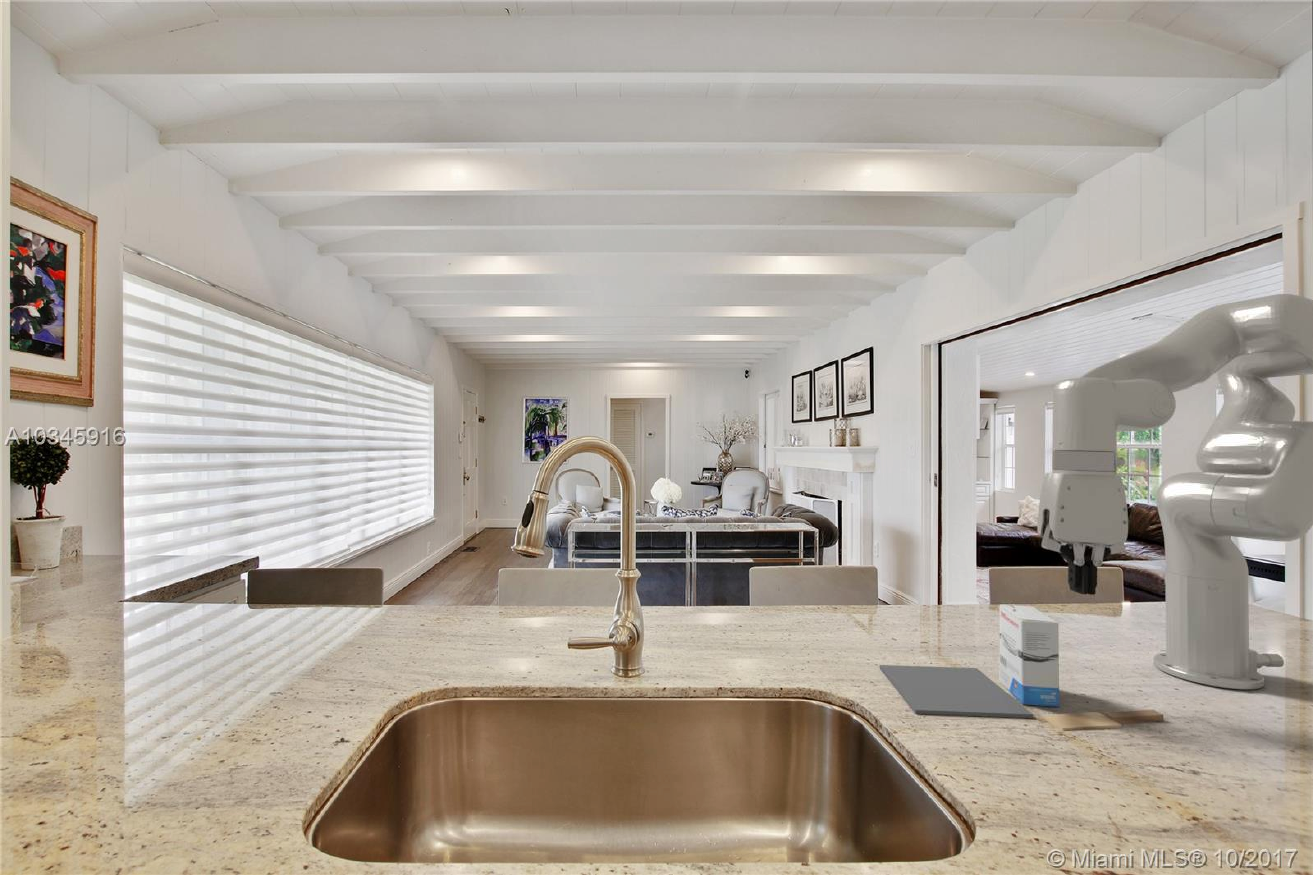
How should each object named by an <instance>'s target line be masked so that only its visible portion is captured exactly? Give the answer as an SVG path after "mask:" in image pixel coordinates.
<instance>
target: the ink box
mask: <svg viewBox="0 0 1313 875" xmlns="http://www.w3.org/2000/svg"><path fill="white" fill-rule="evenodd" d="M998 614H999V632H998V633H999V666H998V667H999V668H998V671H999V673H998V678H999V680H998V681H999V682H1000V683H1001V684H1002V685H1003V686H1004V688H1006V690H1007V691H1009V692H1010V693H1011V694H1012V695H1013V697H1014V698H1015V699H1016V700H1017V701H1018V702H1019V703H1020V704H1021V705H1028V706H1031V705H1032V706H1040V707H1041V706H1043V707H1055V708H1059V707H1060V668H1059V667H1060V665H1059V664H1060V662H1059V656H1060V653H1059V650H1060V649H1059V647H1060V646H1059V642H1060V641H1059V639H1060V638H1059V622H1058V621H1056V620H1054V619H1052V618H1051V617H1050V616H1048V615H1046V614H1045V613H1044V612H1042V611H1040V610H1038V609H1037V608H1035V607H1034V606H1028V605H1017V604H999V612H998Z"/></svg>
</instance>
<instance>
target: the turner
mask: <svg viewBox="0 0 1313 875" xmlns="http://www.w3.org/2000/svg"><path fill="white" fill-rule="evenodd" d="M1041 718H1042V719H1044V720H1045V721H1047V722H1048V723H1050V724H1052V725H1053V726H1055V727H1057V729H1060V730H1061V731H1074V730H1075V731H1078V730H1101V729H1103V730H1104V729H1121V728H1122V724H1133V723H1150V722H1152V723H1153V722H1163V721H1164V714H1163V713H1160V712H1159V711H1156V710H1154V709H1148V710H1147V709H1146V710H1145V709H1144V710H1143V709H1142V710H1129V711H1128V710H1127V711H1126V710H1125V711H1111V712H1110V711H1107V712H1103V713H1100V712H1099V711H1088V712H1071V713H1069V712H1068V713H1056V714H1055V713H1054V714H1041Z"/></svg>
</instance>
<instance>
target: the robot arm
mask: <svg viewBox="0 0 1313 875" xmlns="http://www.w3.org/2000/svg"><path fill="white" fill-rule="evenodd" d="M1215 374H1216V376H1217V379H1218V383H1219V385H1220V387H1221V390H1222V395H1223V403H1222V407H1221V408H1220V411H1219V412H1218V414H1217V416H1216V417H1215V419H1214V420H1213V421H1212V424H1211V426H1210V427H1209V429H1208V430H1207V432H1206V434H1205V435H1204V437H1203V439H1202V441H1201V442H1200V443H1199V447H1198V448H1197V452H1196V455H1195V456H1196V457H1195V458H1196V466H1197V467H1198V469H1199V470H1201V471H1197V472H1196V471H1193V472H1192V471H1190V472H1183V473H1177V474H1174V475H1172V476H1169V477H1167V478H1166V479H1164V480H1163V481H1162V482H1161V484H1159V486H1158V488H1157V492H1156V500H1155V501H1156V506H1157V512H1158V516H1159V520H1160V523H1161V527H1162V533H1163V538H1164V539H1163V541H1164V557H1165V565H1164V566H1165V570H1164V571H1165V572H1164V574H1165V652H1162V653H1158V654H1155V655H1154V656H1153V664H1154V666H1155V667H1156V668H1157V669H1159V670H1160V671H1162V672H1164V673H1167V674H1169V675H1171V676H1174V677H1177V678H1180V679H1182V680H1186V681H1190V682H1193V683H1197V684H1202V685H1207V686H1210V687H1218V688H1224V689H1233V690H1257V689H1261V688H1263V687H1264V686H1265V677H1264V676H1263V675H1262V674H1261V673H1260V672H1258V669H1261V668H1262V667H1266V668H1282V667H1283V666H1284V665H1285V661H1284V659H1283V657H1282V656H1281V655H1280V654H1277V653H1258V651H1256V650H1254V649H1251V648H1250V607H1249V606H1250V605H1249V604H1250V601H1249V600H1250V597H1249V595H1250V593H1249V591H1250V590H1249V566H1248V562H1247V560H1246V558H1245V556H1244V554H1243V552H1242V551H1241V549H1239V547H1238V546H1237V544H1236V543H1235V542H1234V541H1233V539H1232V538H1231V537H1234V538H1235V537H1236V538H1244V539H1251V540H1261V541H1267V542H1269V541H1271V542H1292V541H1297V540H1299V539H1301V538H1302V537H1304V536H1305V535H1306V534H1307V533H1308V532H1309V531H1310V530H1311V528H1312V527H1313V421H1311V420H1294V418H1295V415H1296V409H1295V405H1294V404H1293V402H1292V400H1291V399H1290V398H1289V397H1288V396H1287V395H1286V394H1285V393H1284V392H1282V390H1280V389H1278V388H1277V387H1276V386H1274V385H1272V383H1271V381H1269V379H1270V378H1279V377H1280V378H1282V377H1292V376H1301V375H1302V376H1305V375H1313V299H1311V298H1308V297H1304V296H1301V295H1298V294H1292V293H1291V294H1290V293H1277V294H1272V295H1265V296H1262V297H1261V296H1260V297H1254V298H1251V299H1245V300H1240V301H1239V300H1238V301H1234V302H1233V301H1232V302H1228V303H1223V304H1219V305H1214V306H1211V307H1209V308H1206V309H1203V310H1202V311H1200V312H1198V313H1197V314H1196V315H1194V316H1193V317H1192V318H1190V319H1189V320H1187V321H1185V322H1184V323H1183V324H1182V325H1180V326H1179V327H1177V328H1176V329H1174V330H1173V331H1172V332H1170V333H1169V334H1168V335H1166V336H1165V337H1163V338H1162V339H1160V340H1159V341H1158V342H1155V343H1153V344H1151V345H1147V346H1145V347H1143V348H1140V349H1138V350H1135V351H1133V352H1131V353H1128V354H1126V355H1123V356H1120V357H1118V358H1115V359H1113V360H1110V361H1108V362H1106V363H1104V364H1101V365H1099V366H1098V367H1094V368H1092V369H1091V370H1090V371H1087V372H1086V373H1084V374H1083V375H1081V376H1080V377H1075V378H1068V379H1062V380H1060V381H1059V382H1057V383H1056V384H1055V385H1054V387H1053V391H1052V392H1053V393H1052V453H1051V454H1052V463H1051V466H1052V470H1051V472H1046V473H1045V475H1044V477H1043V482H1042V485H1041V486H1042V487H1041V489H1040V490H1041V491H1040V495H1039V501H1038V502H1039V503H1038V511H1037V512H1038V513H1037V514H1038V515H1037V534H1038V535H1039V537H1041V538H1042V541H1041V548H1043V549H1046V550H1049V551H1053V552H1057V553H1058V554H1059V555H1060V556H1061V557H1062V558H1063V561H1065V563H1068V564H1067V567H1068V568H1067V584H1068V585H1069V590H1070V591H1073V592H1075V593H1078V594H1080V595H1090V596H1091V595H1092V596H1093V595H1094V596H1095V595H1096V593H1097V592H1096V588H1097V586H1098V568H1099V567H1100V566H1102V564H1103V561H1104V560H1106V558H1108V556H1110V555H1115V554H1121V553H1123V552H1125V551H1126V546H1125V542H1126V541H1127V539H1128V534H1129V516H1128V515H1129V514H1128V503H1127V496H1126V490H1125V485H1124V480H1123V478H1122V475H1120V474H1117V473H1118V467H1120V468H1121V467H1124V466H1125V465H1126V464H1125V463H1126V460H1125V457H1121V456H1118V454H1119V453H1118V432H1141V431H1142V432H1143V431H1149V430H1154V429H1157V428H1160V427H1162V426H1164V425H1165V424H1167V423H1168V422H1169V421H1170V420H1171V419H1172V418H1173V416H1174V415H1175V411H1176V406H1177V405H1176V404H1177V403H1176V402H1177V401H1176V398H1175V395H1174V393H1176V392H1180V391H1184V390H1188V389H1191V388H1194V387H1196V386H1200V385H1201V384H1203V383H1205V382H1206V381H1207V380H1209V379H1210V378H1212V376H1214V375H1215ZM1059 542H1060V543H1059Z"/></svg>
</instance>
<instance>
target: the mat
mask: <svg viewBox="0 0 1313 875" xmlns="http://www.w3.org/2000/svg"><path fill="white" fill-rule="evenodd" d="M879 669H880V671H881V672H882V673H883V675H884V676H885V677H886V678H887V679H888V681H889V682H890V684H891V685H892V686H893V687H894V689H895V690H896V691H897V692H898V693H899V695H900V696H901V697H902V699H903V700H904V701H905V702H906V703H907V705H908V706H909V708H910V709H911V710H912V711H913V713H914V714H916V715H918V714H919V715H940V716H941V715H942V716H965V717H967V716H968V717H969V716H970V717H988V718H989V717H992V718H995V717H996V718H1016V719H1017V718H1019V719H1034V713H1032V712H1031V711H1030V710H1029V709H1027V708H1026V707H1025V706H1024V705H1023V704H1022V703H1021V702H1020V701H1019V700H1017V699H1016V698H1015V697H1014V696H1013V697H1012V695H1010V694H1009V693H1008V692H1007V691H1005V690H1004V689H1003V688H1002V687H1001V686H999V684H997V683H996V682H995V681H993V680H992V679H991V678H989V677H988V676H987V675H986V674H984V673H983V672H982V671H981V670H980V669H979V668H977V667H955V666H954V667H952V666H948V667H947V666H926V665H924V666H921V665H920V666H919V665H918V666H917V665H893V664H892V665H891V664H890V665H889V664H879Z"/></svg>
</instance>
